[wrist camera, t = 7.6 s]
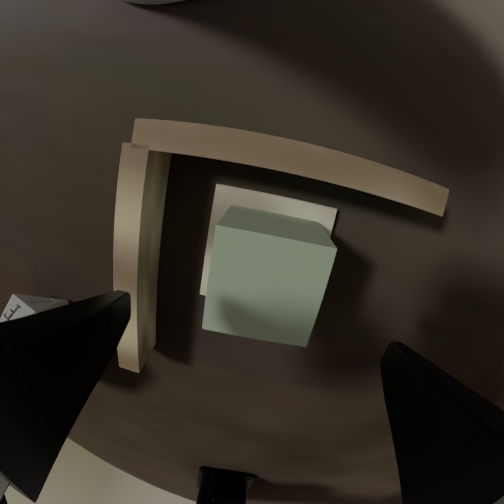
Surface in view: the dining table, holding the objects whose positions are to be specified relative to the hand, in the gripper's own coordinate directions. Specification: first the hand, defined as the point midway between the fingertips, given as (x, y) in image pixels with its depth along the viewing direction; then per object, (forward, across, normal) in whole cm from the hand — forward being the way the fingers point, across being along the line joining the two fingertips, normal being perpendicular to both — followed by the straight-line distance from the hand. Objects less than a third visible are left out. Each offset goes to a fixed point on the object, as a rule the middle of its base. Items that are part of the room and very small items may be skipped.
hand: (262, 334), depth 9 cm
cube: (+8, 0, 0) cm, 9 cm away
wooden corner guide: (+9, 0, +1) cm, 9 cm away
